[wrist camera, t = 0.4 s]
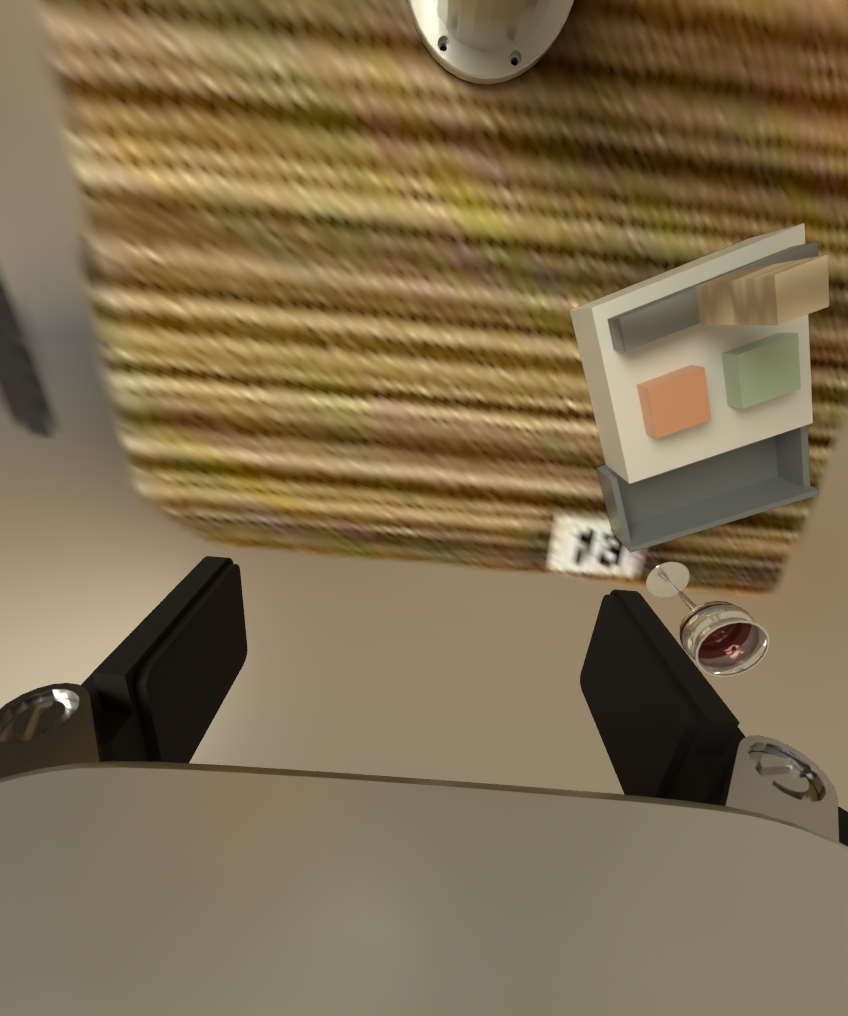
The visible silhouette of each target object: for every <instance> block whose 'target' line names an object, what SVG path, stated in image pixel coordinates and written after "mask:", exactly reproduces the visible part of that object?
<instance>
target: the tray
mask: <svg viewBox="0 0 848 1016" xmlns="http://www.w3.org/2000/svg"><path fill="white" fill-rule="evenodd" d="M597 472H598V476H599V480H600V485H601V489H602V493H603V497H604V501H605V505H606V509H607V513H608V518H609V522H610V526H611V530H612V532H613V533H614V534H615V535H616V537H617V538H618V539H619V540H620V541H621V542H622V543H623V545H624V546H625V547H626V548H627V549H628V550H629V551H630V553H631V552H634V551H638V550H641V549H644V548H647V547H650V546H654V545H657V544H660V543H663V542H667V541H670V540H673V539H676V538H680V537H683V536H686V535H689V534H693V533H696V532H699V531H702V530H706V529H709V528H712V527H715V526H719V525H722V524H725V523H728V522H732V521H735V520H738V519H741V518H745V517H748V516H751V515H754V514H758V513H761V512H764V511H767V510H771V509H774V508H777V507H780V506H784V505H787V504H790V503H793V502H797V501H800V500H803V499H806V498H810V497H813V496H816V495H819V489H817V488H815V487H812V486H810V470H809V449H808V428H807V425H805V426H802V427H799V428H796V429H793V430H790V431H787V432H784V433H781V434H778V435H775V436H772V437H769V438H766V439H763V440H760V441H757V442H754V443H751V444H748V445H745V446H742V447H739V448H736V449H733V450H730V451H727V452H724V453H721V454H718V455H715V456H712V457H709V458H706V459H703V460H700V461H697V462H694V463H691V464H688V465H685V466H682V467H679V468H676V469H673V470H670V471H667V472H664V473H661V474H658V475H655V476H652V477H649V478H646V479H643V480H640V481H637V482H634V483H631V484H629V483H628V482H627V481H625V480H624V479H623V478H622V477H620V476H619V475H618V474H617V473H615V472H614V471H613V470H612V469H610V468H609V467H608V466H607V465H604V466H601V467H598V468H597Z"/></svg>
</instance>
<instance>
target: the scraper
mask: <svg viewBox="0 0 848 1016" xmlns="http://www.w3.org/2000/svg"><path fill="white" fill-rule="evenodd" d="M826 307H829V279H828V255H823V256H818V241H815V242H811V243H806V244H802V245H797V246H792V247H789V248H787V249H784V250H782V251H779V252H776V253H774V254H771V255H769V256H766V257H764V258H761V259H759V260H756V261H754V262H751V263H748V264H746V265H743V266H741V267H738V268H736V269H733V270H731V271H728V272H726V273H723V274H721V275H718V276H715V277H713V278H710V279H708V280H705V281H703V282H700V283H698V284H695V285H693V286H690V287H687V288H685V289H682V290H680V291H677V292H675V293H672V294H670V295H667V296H665V297H662V298H659V299H657V300H654V301H652V302H649V303H647V304H644V305H642V306H639V307H637V308H634V309H631V310H629V311H626V312H624V313H621V314H619V315H616V316H614V317H611V318H609V319H607V320H608V325H609V330H610V335H611V339H612V344H613V349H614V350H620V351H628V350H631V349H633V348H636V347H639V346H641V345H644V344H647V343H649V342H652V341H655V340H657V339H660V338H662V337H665V336H668V335H670V334H673V333H676V332H678V331H681V330H684V329H686V328H689V327H691V326H694V325H697V324H699V323H700V325H780V324H783V323H785V322H788V321H791V320H793V319H796V318H799V317H802V316H804V315H807V314H810V313H812V312H815V311H818V310H821V309H823V308H826Z"/></svg>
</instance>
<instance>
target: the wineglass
mask: <svg viewBox="0 0 848 1016" xmlns="http://www.w3.org/2000/svg"><path fill="white" fill-rule="evenodd" d="M688 581H689V572H688V569H687V568H686V567H685V566H684V565H683V564H680V563H678V562H667V563H663V564H661V565H659V566H657V567H656V568H654V569H653V570H652V571H651V572H650V574H649V575H648V578H647V581H646V586H647V589H648V591H649V592H650V593H651V594H652V595H654V596H656V597H662V598H666V597H672V596H674V595H676V594H678V595H679V596H680V598H681V599H682V600H683V601H684V602H685V604H686V605H687V606H688V607H689V609H690V611H689V612H688V613H687V615H686V616H685V617H684V619H683V621H682V623H681V625H680V640H681V643H682V645H683V648H684V649H685V650H686V652H687V653H688V654H689V655H690V656H691V657H692V658H693V659H694V660H696V662H697V664H698V666H699V668H700V669H702V670H703V671H704V672H705V673H707V674H710V675H712V676H716V677H731V676H737V675H739V674H742V673H744V672H747V671H749V670H751V669H752V668H754V667H755V666H757V665H758V664H759V663H760V661H762V660H763V658H765V656H766V653H767V652H768V650H769V645H770V638H769V635H768V632H767V631H766V630H765V629H764V628H763V627H762V626H761V625H759V624H756V622H755V620H754V619H753V617H752V616H751V615H750V614H749V613H748V612H747V611H745V610H743V609H742V608H740V607H738V606H736V605H733V604H731V603H728V602H722V601H713V602H708V603H703V604H700V605H698V606H696V605H695V604H694V603H693V602H692V601H691V600H690V599H689V598H688V597H687V596H686V595H685V594H684V593H683V592H681V591H682V590H683V589H684V588H685V587H686V586H687V584H688Z"/></svg>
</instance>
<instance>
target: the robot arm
mask: <svg viewBox="0 0 848 1016" xmlns="http://www.w3.org/2000/svg"><path fill="white" fill-rule="evenodd" d="M573 2H574V0H408V4H409V8H410V11H411V14H412V18H413V21H414V25H415V27H416V29H417V31H418V33H419V35H420V38H421V40H422V42H423V44H424V45H425V46H426V48H427V49H428V51H429V52H430V54H431V55H432V56H433V58H434V59H435V60H436V61H437V62H438V63H439V64H440V65H441V66H442V67H443V68H444V69H445V70H447V71H448V72H450V73H452V74H453V75H455V76H456V77H458V78H460V79H463V80H466V81H469V82H472V83H477V84H495V83H501V82H506V81H508V80H510V79H513V78H515V77H517V76H520V75H521V74H523V73H524V72H525V71H527V70H528V69H530V68H531V67H533V66H534V65H535V64H536V63H537V62H538V61H539V60H540V59H541V58H542V57H543V56H544V55H545V54H546V53H547V52H548V50H549V49H550V47H551V46H552V44H553V43H554V41H555V40H556V39H557V37H558V36H559V34H560V32H561V30H562V28H563V26H564V24H565V22H566V20H567V17H568V15H569V12H570V10H571V7H572V5H573ZM441 47H445V48H446V51H441V50H440V48H441ZM512 61H515V62H516V63H517V65H516V66H514V65H512V64H511V62H512ZM246 655H247V640H246V629H245V619H244V608H243V598H242V586H241V576H240V568H239V566H238V565H237V564H233V561H232V559H230V558H222V557H210V556H207V557H205V558H204V559H202V561H201V562H200V563H199V564H198V565H197V566H196V567H195V568H194V569H193V570H192V571H191V572H190V573H189V574H188V575H187V576H186V577H185V578H184V579H183V580H182V581H181V582H180V583H179V584H178V585H177V586H176V587H175V588H174V589H173V590H172V591H171V592H170V593H169V594H168V595H167V597H166V598H165V599H164V600H163V601H162V602H161V603H160V604H159V605H158V606H157V607H156V608H155V609H154V610H153V611H152V612H151V613H150V614H149V615H148V616H147V617H146V618H145V619H144V620H143V621H142V622H141V623H140V624H139V625H138V626H137V627H136V629H134V630H133V631H132V633H130V635H129V636H128V637H127V638H126V639H125V640H124V641H123V642H122V643H121V644H120V645H119V646H118V647H117V648H116V649H115V650H114V651H113V652H112V653H111V654H110V655H109V656H108V657H107V658H106V659H105V660H104V661H103V662H102V663H101V664H100V665H99V666H98V668H96V669H95V670H94V672H93V673H92V674H91V675H90V676H89V677H88V678H87V679H86V680H85V681H84V682H83V684H82V685H78V684H71V683H61V684H52V685H48V686H44V687H40V688H37V689H34V690H32V691H30V692H27V693H25V694H22V695H20V696H19V697H17V698H16V699H14V700H12V701H10V702H8V703H7V704H5V705H4V706H3V707H2V708H1V709H0V1016H848V812H847V811H845V810H843V809H842V808H840V807H838V798H837V795H836V791H835V788H834V786H833V785H832V783H831V781H830V780H829V778H828V777H827V775H826V774H825V773H824V772H823V771H822V770H821V769H820V768H819V767H818V766H817V765H816V764H815V763H813V762H812V761H811V760H810V759H808V758H807V757H806V756H805V755H803V754H802V753H800V752H799V751H797V750H795V749H794V748H792V747H790V746H788V745H787V744H784V743H782V742H780V741H777V740H775V739H772V738H768V737H764V736H748V737H745V736H744V735H743V733H742V732H741V731H740V729H739V728H738V727H737V726H738V724H739V721H738V720H737V719H736V717H735V716H734V715H733V713H732V712H731V711H730V710H729V708H728V707H727V706H726V704H725V703H724V702H723V701H722V699H721V698H720V697H719V695H718V694H717V693H716V692H715V690H714V689H713V688H712V686H711V685H710V684H709V682H708V681H707V680H706V679H705V677H704V676H703V675H702V673H701V672H700V671H699V669H698V668H697V667H696V666H695V664H694V663H693V662H692V660H691V659H690V658H689V657H688V655H687V654H686V653H685V651H684V650H683V649H682V648H681V646H680V645H679V644H678V642H677V641H676V640H675V638H674V637H673V636H672V635H671V633H670V632H669V631H668V629H667V628H666V627H665V626H664V624H663V623H662V622H661V620H660V619H659V618H658V616H657V615H656V614H655V613H654V612H653V610H652V609H651V607H650V606H649V605H648V603H647V602H646V601H645V600H644V598H643V597H642V596H641V594H640V593H638V592H636V591H626V590H613V591H612V592H611V593H610V595H605V596H604V598H603V600H602V603H601V607H600V610H599V614H598V617H597V620H596V624H595V627H594V631H593V634H592V637H591V641H590V644H589V648H588V651H587V654H586V658H585V661H584V665H583V668H582V671H581V676H580V684H581V689H582V692H583V694H584V697H585V699H586V701H587V704H588V706H589V709H590V711H591V714H592V716H593V718H594V721H595V723H596V726H597V728H598V730H599V733H600V735H601V738H602V740H603V743H604V745H605V748H606V750H607V753H608V755H609V757H610V760H611V762H612V764H613V767H614V770H615V772H616V774H617V777H618V779H619V782H620V784H621V787H622V789H623V791H624V794H625V795H622V794H612V793H600V792H587V791H574V790H561V789H549V788H537V787H524V786H511V785H499V784H486V783H472V782H459V781H446V780H431V779H418V778H405V777H390V776H376V775H363V774H349V773H334V772H319V771H304V770H289V769H274V768H259V767H244V766H230V765H210V764H209V765H208V764H189V762H190V760H191V758H192V756H193V755H194V753H195V751H196V749H197V747H198V746H199V744H200V742H201V740H202V738H203V737H204V735H205V733H206V731H207V729H208V728H209V725H210V724H211V722H212V720H213V719H214V717H215V715H216V713H217V711H218V709H219V708H220V706H221V704H222V702H223V700H224V698H225V697H226V695H227V693H228V691H229V689H230V688H231V686H232V684H233V682H234V681H235V679H236V677H237V675H238V673H239V671H240V670H241V668H242V666H243V664H244V662H245V659H246Z"/></svg>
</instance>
